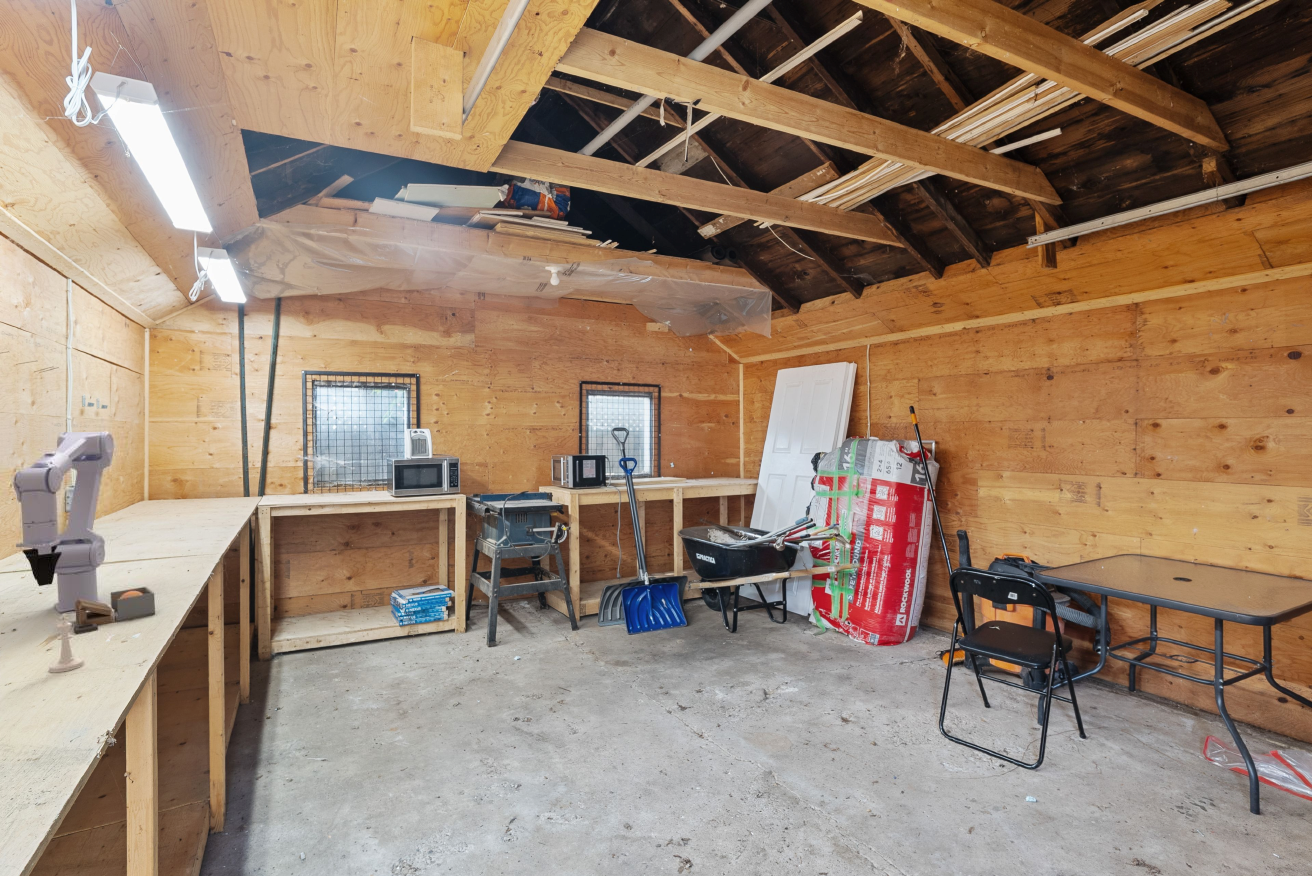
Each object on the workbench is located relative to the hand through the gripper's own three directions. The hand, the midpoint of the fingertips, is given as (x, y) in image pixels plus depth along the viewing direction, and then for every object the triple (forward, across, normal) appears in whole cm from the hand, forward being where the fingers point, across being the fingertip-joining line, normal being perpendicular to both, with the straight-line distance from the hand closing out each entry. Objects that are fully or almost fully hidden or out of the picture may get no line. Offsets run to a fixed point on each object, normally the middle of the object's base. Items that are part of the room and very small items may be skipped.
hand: (43, 581), depth 144 cm
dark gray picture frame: (+10, +11, +6) cm, 16 cm away
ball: (+7, +4, +14) cm, 17 cm away
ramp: (+10, +4, +8) cm, 14 cm away
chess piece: (+10, +36, 0) cm, 37 cm away
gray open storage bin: (+10, +4, +14) cm, 18 cm away
